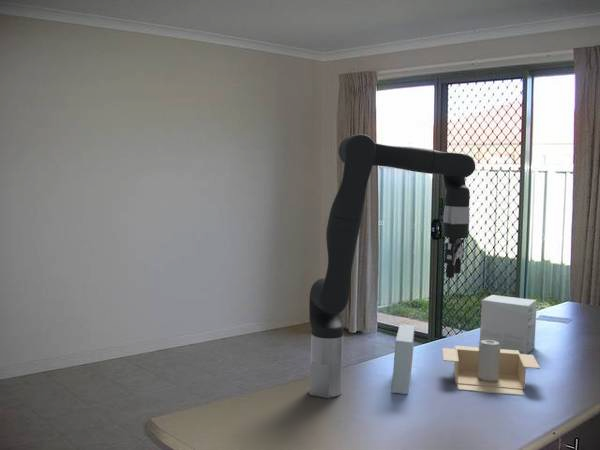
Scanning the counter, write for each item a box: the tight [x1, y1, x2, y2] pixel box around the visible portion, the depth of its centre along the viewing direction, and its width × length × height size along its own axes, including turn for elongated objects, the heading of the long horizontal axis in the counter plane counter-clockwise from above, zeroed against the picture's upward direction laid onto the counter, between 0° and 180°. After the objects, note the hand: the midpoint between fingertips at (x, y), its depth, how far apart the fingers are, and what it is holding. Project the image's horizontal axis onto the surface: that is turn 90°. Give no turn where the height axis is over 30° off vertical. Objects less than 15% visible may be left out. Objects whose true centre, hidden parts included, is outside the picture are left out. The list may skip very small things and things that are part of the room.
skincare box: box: [390, 323, 415, 395], centre depth 207 cm, size 21×5×16 cm, turn 168°
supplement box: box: [478, 294, 538, 355], centre depth 249 cm, size 17×13×18 cm
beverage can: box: [477, 340, 500, 382], centre depth 210 cm, size 6×6×12 cm
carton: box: [442, 345, 541, 397], centre depth 211 cm, size 22×28×8 cm
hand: (453, 275), depth 202 cm, fingers open, 8 cm apart
